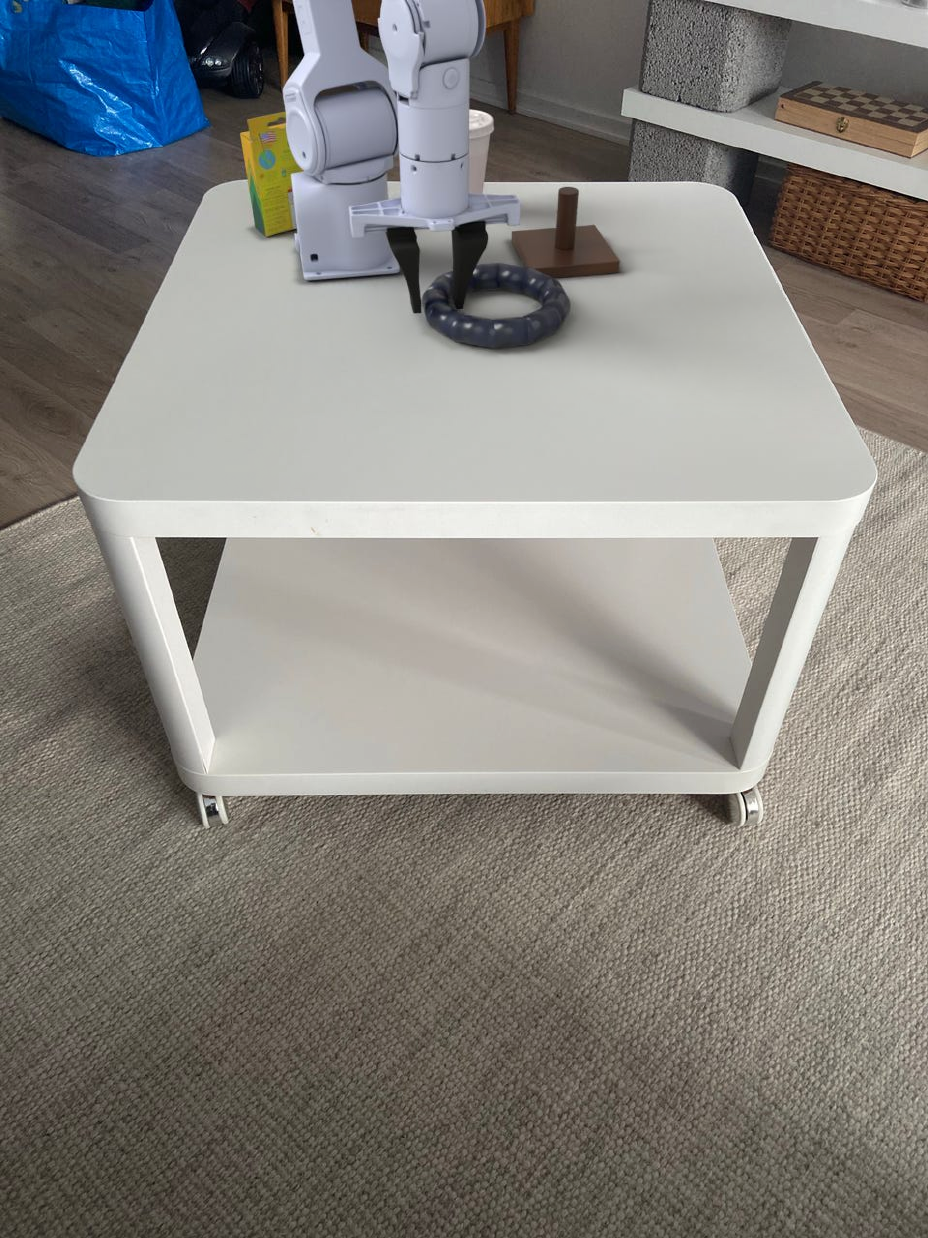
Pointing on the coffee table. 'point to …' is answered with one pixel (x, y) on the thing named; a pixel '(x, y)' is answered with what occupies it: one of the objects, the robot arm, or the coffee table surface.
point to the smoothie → (478, 148)
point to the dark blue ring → (498, 329)
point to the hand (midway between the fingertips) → (437, 306)
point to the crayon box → (270, 174)
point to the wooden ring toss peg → (566, 244)
